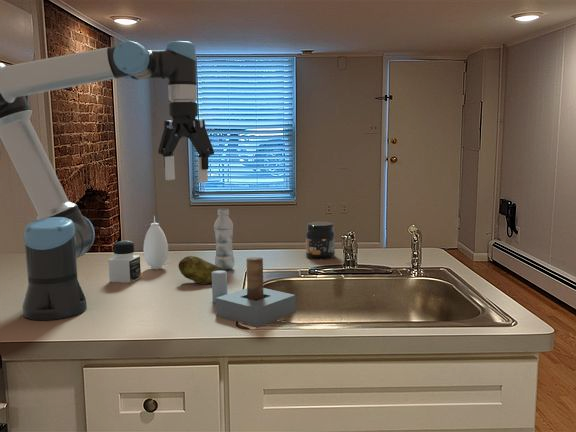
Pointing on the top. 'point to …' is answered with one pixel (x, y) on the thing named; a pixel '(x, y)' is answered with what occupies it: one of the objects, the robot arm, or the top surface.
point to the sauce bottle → (155, 246)
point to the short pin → (219, 284)
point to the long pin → (255, 278)
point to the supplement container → (320, 240)
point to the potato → (197, 269)
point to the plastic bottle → (224, 240)
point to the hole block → (255, 307)
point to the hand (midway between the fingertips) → (186, 181)
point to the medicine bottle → (124, 263)
